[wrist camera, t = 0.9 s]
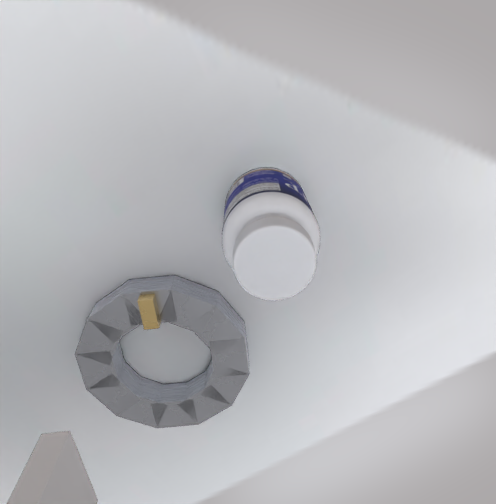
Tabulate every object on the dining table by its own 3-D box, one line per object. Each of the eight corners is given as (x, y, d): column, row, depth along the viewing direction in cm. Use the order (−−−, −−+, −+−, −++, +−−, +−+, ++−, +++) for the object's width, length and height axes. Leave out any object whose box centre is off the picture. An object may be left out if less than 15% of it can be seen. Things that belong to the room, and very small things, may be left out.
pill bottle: (316, 224, 29) (346, 290, 21) (245, 254, 30) (247, 328, 22) (287, 151, 27) (307, 194, 19) (211, 185, 28) (199, 240, 20)
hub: (108, 413, 36) (97, 441, 33) (67, 285, 31) (52, 306, 28) (254, 400, 35) (255, 427, 33) (237, 268, 30) (237, 288, 28)
